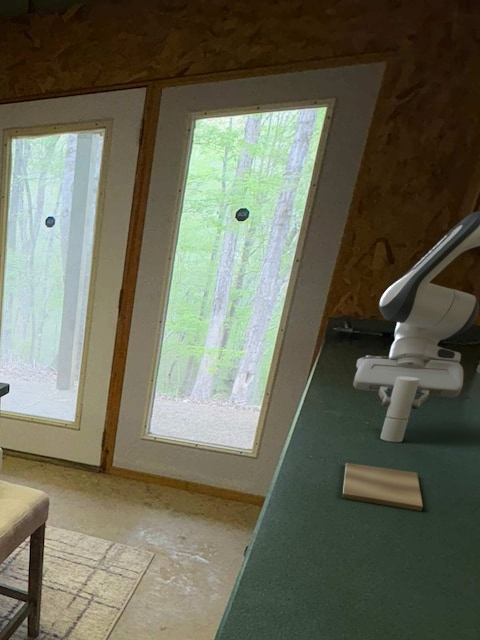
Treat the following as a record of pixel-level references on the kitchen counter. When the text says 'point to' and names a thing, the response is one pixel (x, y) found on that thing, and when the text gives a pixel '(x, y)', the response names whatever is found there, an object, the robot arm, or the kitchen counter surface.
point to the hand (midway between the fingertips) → (400, 406)
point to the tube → (399, 408)
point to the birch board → (382, 486)
